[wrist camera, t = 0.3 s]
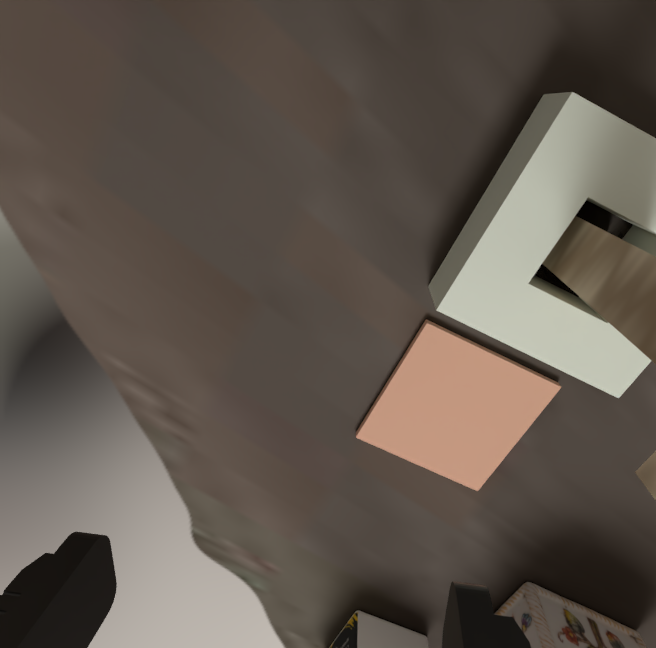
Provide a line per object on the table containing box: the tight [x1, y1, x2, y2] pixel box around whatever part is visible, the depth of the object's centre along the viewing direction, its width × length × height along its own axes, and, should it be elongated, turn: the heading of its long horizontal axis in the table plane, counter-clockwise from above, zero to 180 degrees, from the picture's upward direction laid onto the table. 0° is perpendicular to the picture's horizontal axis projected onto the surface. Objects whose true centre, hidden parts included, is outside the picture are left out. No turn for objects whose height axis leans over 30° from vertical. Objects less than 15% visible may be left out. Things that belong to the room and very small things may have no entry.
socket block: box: [428, 92, 656, 398], centre depth 27 cm, size 12×12×4 cm
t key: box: [542, 216, 656, 500], centre depth 20 cm, size 9×3×18 cm, turn 155°
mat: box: [356, 319, 561, 491], centre depth 34 cm, size 10×10×1 cm
